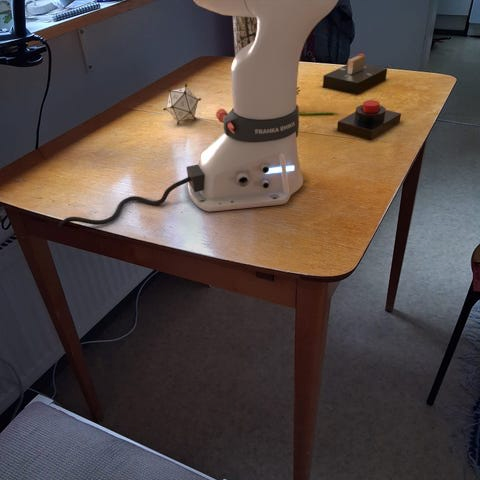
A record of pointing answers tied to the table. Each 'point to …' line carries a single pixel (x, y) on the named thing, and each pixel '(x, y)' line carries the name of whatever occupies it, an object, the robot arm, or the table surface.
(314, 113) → the decorative flower
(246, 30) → the bark textured post
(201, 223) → the table surface
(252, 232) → the table surface
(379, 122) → the button block
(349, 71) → the beige rectangular block
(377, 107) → the button
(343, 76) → the panel
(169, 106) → the game die
